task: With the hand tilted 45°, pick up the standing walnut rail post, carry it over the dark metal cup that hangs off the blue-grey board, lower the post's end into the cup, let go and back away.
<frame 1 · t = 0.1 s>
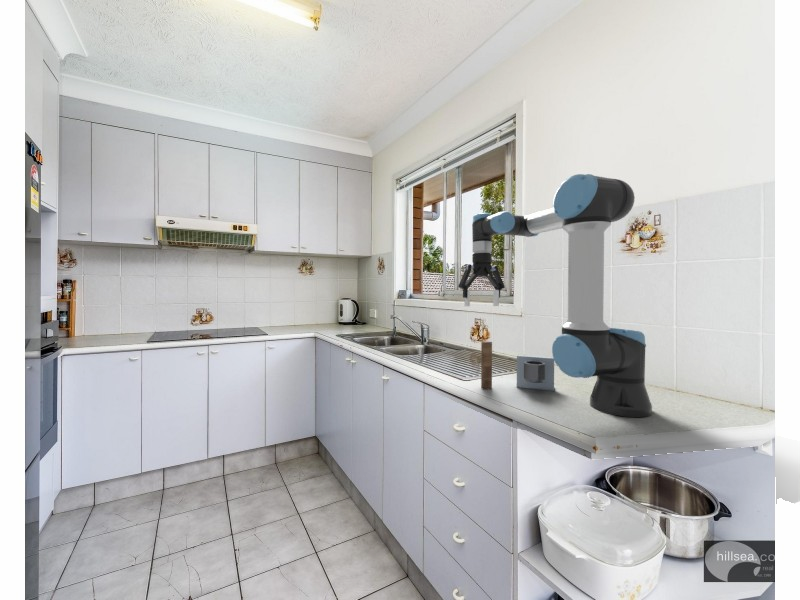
hand: (481, 306, 142), 28 cm above the counter, tool pointing down, fingers open, 13 cm apart
wall board: (535, 388, 122), on the counter
rail post: (486, 387, 123), on the counter
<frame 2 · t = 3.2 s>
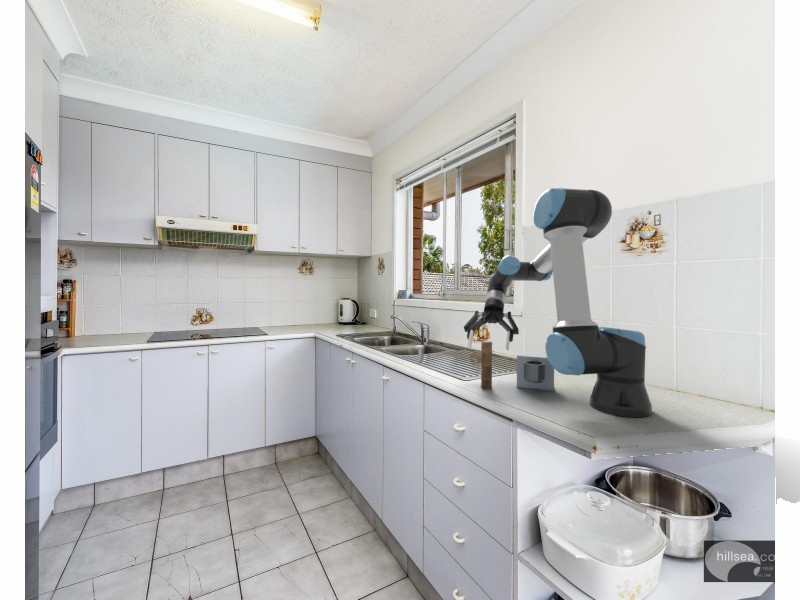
hand: (487, 346, 129), 13 cm above the counter, tool tilted 45°, fingers open, 13 cm apart
nothing on the counter moved.
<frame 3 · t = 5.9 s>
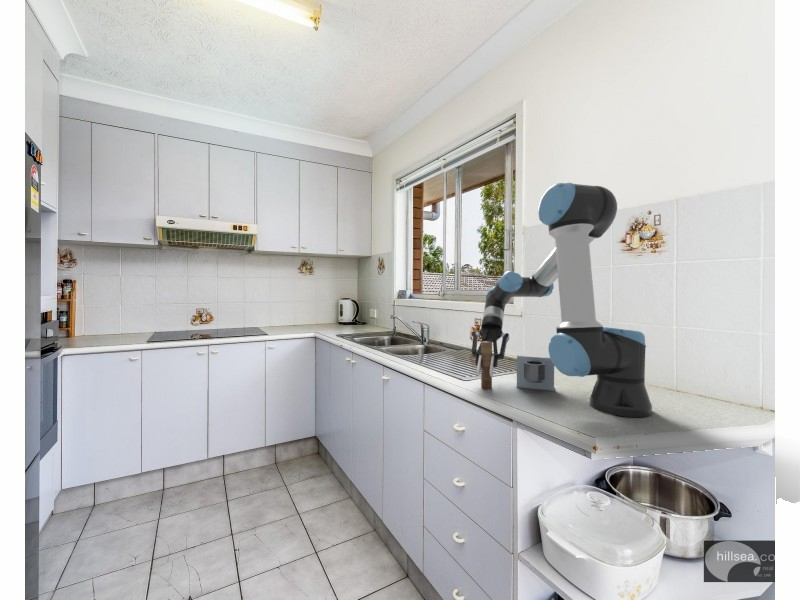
hand: (484, 373, 119), 6 cm above the counter, tool tilted 45°, fingers closed on rail post, 3 cm apart
rail post: (486, 387, 123), on the counter, touching gripper
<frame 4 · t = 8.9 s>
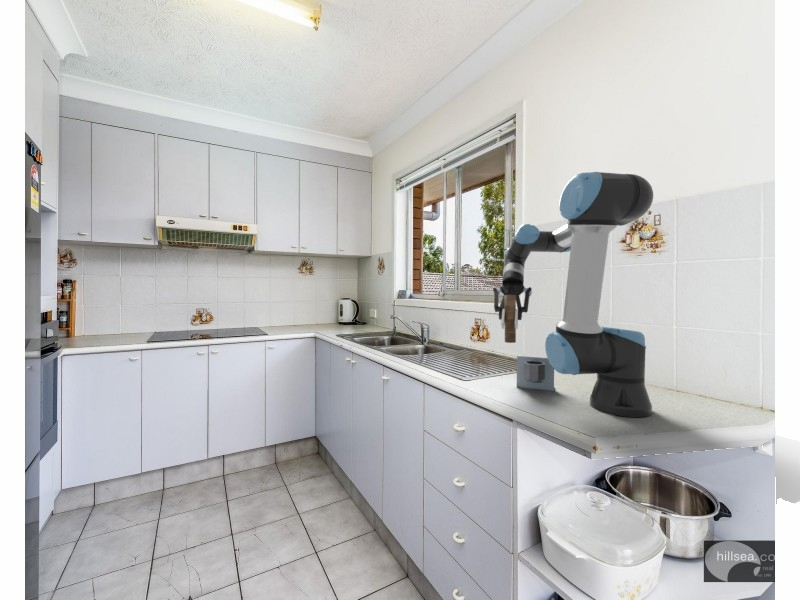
hand: (509, 326, 117), 22 cm above the counter, tool tilted 45°, fingers closed on rail post, 3 cm apart
rail post: (510, 342, 120), point 16 cm above the counter, touching gripper
when the fingers open (12 cm above the counter, at t = 12.2 s): rail post drops 1 cm, resting on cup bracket.
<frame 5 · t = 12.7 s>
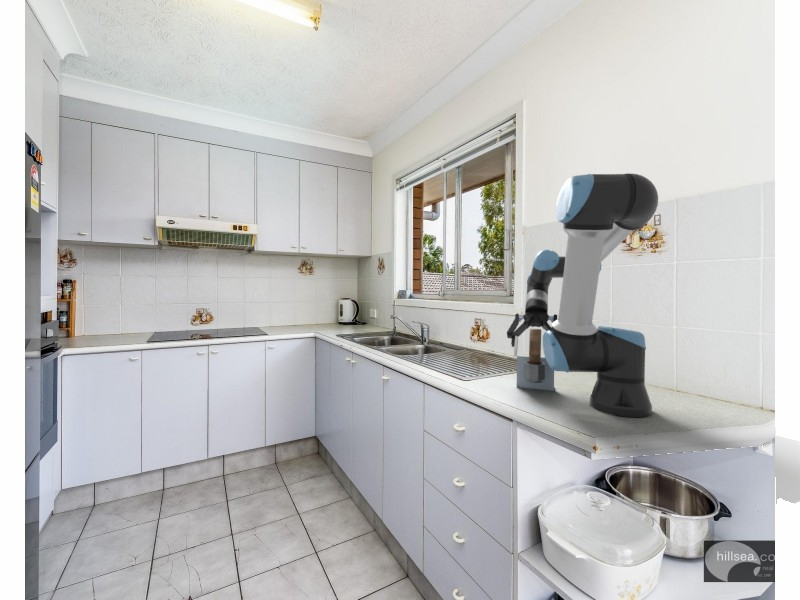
hand: (534, 355, 114), 13 cm above the counter, tool tilted 45°, fingers open, 11 cm apart
rail post: (534, 377, 117), point 5 cm above the counter, touching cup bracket
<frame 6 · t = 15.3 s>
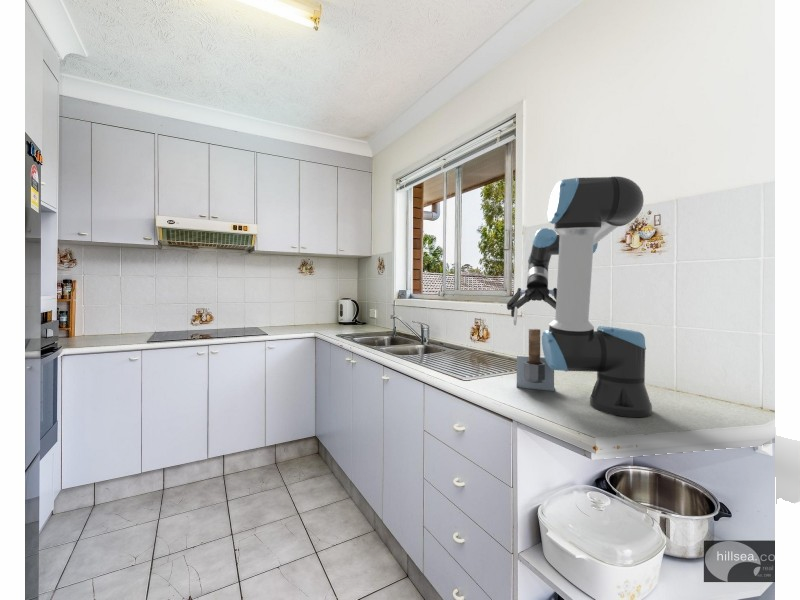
hand: (535, 323, 122), 22 cm above the counter, tool tilted 45°, fingers open, 13 cm apart
nothing on the counter moved.
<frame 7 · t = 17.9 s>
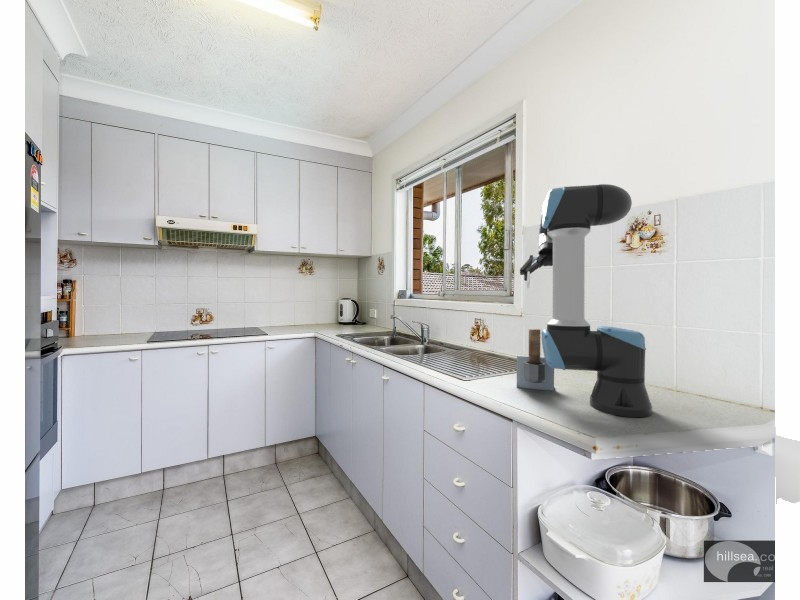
hand: (547, 285, 130), 36 cm above the counter, tool tilted 45°, fingers open, 13 cm apart
nothing on the counter moved.
at the end: rail post 0.1 cm off-centre on the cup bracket, point 5.0 cm above the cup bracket's base; rail post tilted 0°; the gripper is holding nothing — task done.
